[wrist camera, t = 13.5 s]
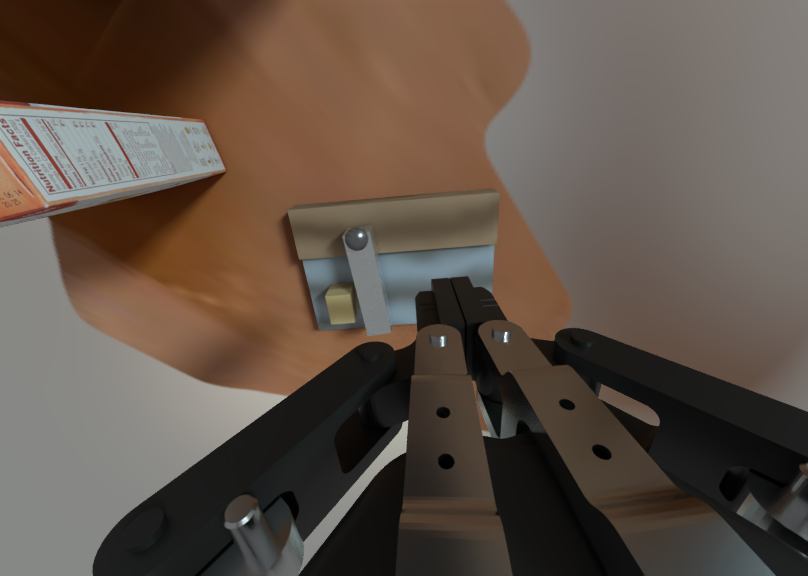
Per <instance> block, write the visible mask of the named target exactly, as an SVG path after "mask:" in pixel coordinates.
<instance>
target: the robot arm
mask: <svg viewBox="0 0 808 576" xmlns="http://www.w3.org/2000/svg"><path fill="white" fill-rule="evenodd" d="M415 306H416V320H417V336H416V340H415V341H414V342H413V343H412V344H411V345H409V346H407V347H405V348H403V349H400V350H396V351H394V349H393V348H392V347H391V346H390V345H388V344H386V343H383V342H368V343H364V344H361V345H359V346H357V347H356V348H354V349H353V350H351V351H350V352H349V353H347V354H346V355H344V356H343V357H342V358H340V359H339V360H338V361H336V362H335V363H333V364H332V365H331V366H329V367H328V368H327V369H325V370H324V371H322V372H321V373H320V374H318V375H317V376H316V377H314V378H313V379H311V380H310V381H309V382H307V383H306V384H305V385H303V386H302V387H300V388H299V389H298V390H296V391H295V392H294V393H292V394H291V395H289V396H288V397H287V398H285V399H284V400H283V401H281V402H280V403H279V404H277V405H276V406H274V407H273V408H272V409H270V410H269V411H267V412H266V413H265V414H263V415H262V416H261V417H259V418H258V419H256V420H255V421H254V422H252V423H251V424H250V425H248V426H247V427H245V428H244V429H243V430H241V431H240V432H239V433H237V434H236V435H234V436H233V437H232V438H230V439H229V440H228V441H226V442H225V443H223V444H222V445H221V446H219V447H218V448H217V449H215V450H214V451H212V452H211V453H210V454H209V455H207V456H206V457H204V458H203V459H202V460H200V461H199V462H197V463H196V464H195V465H193V466H192V467H190V468H189V469H188V470H186V471H185V472H184V473H182V474H181V475H180V476H178V477H177V478H176V479H174V480H173V481H171V482H170V483H169V484H167V485H166V486H164V487H163V488H162V489H160V490H159V491H158V492H157V493H155V494H153V495H152V496H151V497H149V498H148V499H147V500H145V501H144V502H142V503H141V504H140V505H138V506H137V507H136V508H134V509H133V510H132V511H130V512H129V513H128V514H127V515H126V516H125V517H124V518H122V519H121V520H120V521H119V522H118V524H116V526H115V527H114V528H113V529H112V530H111V531H110V533H109V534H108V535H107V537H106V538H105V539H104V541H103V542H102V544H101V546H100V548H99V550H98V552H97V554H96V557H95V559H94V563H93V576H297V575H298V574H299V571H300V568H301V566H302V561H303V556H304V545H303V542H304V541H305V539H306V538H307V537H308V536H309V535H310V534H311V533H312V531H313V530H314V529H315V528H316V527H317V526H318V525H319V523H320V522H321V521H322V520H323V519H324V518H325V517H326V515H327V514H328V513H329V512H330V511H331V510H332V508H333V507H334V506H335V505H336V504H337V503H338V502H339V500H340V499H341V498H342V497H343V496H344V495H345V493H346V492H347V491H348V490H349V489H350V488H351V486H352V485H353V484H354V483H355V482H356V481H357V480H358V479H359V477H360V476H361V475H362V474H363V473H364V472H365V470H366V469H367V468H368V467H369V466H370V465H371V463H372V462H373V461H374V460H375V459H376V458H377V457H378V455H379V454H380V453H381V452H382V451H383V450H384V448H385V447H386V446H387V445H388V444H389V443H390V442H391V441H392V439H393V438H394V437H395V436H396V435H397V434H398V432H399V431H400V429H401V427H402V423H403V422H404V421H407V420H408V435H407V451H406V453H404V454H402V455H400V456H398V457H397V458H395V459H394V460H392V461H391V462H390V463H388V464H387V465H386V466H385V467H384V468H383V469H382V470H381V471H380V472H379V473H378V474H377V475H376V476H375V477H374V478H373V480H372V481H371V482H370V483H369V485H368V486H367V487H366V489H365V490H364V491H363V492H362V494H361V495H360V496H359V498H358V499H357V500H356V501H355V503H354V504H353V506H352V507H351V508H350V509H349V511H348V512H347V513H346V514H345V516H344V517H343V519H342V520H341V521H340V522H339V523H338V525H337V526H336V527H335V529H334V530H333V531H332V533H331V534H330V535H329V536H328V538H327V539H326V540H325V542H324V543H323V544H322V545H321V547H320V548H319V549H318V551H317V552H316V553H315V554H314V556H313V557H312V558H311V560H310V561H309V562H308V564H307V565H306V566H305V567H304V569H303V570H302V571H301V573H300V574H299V575H298V576H808V412H806V411H804V410H801V409H798V408H796V407H793V406H791V405H788V404H785V403H783V402H780V401H777V400H774V399H772V398H769V397H767V396H763V395H761V394H758V393H755V392H753V391H750V390H748V389H745V388H742V387H740V386H737V385H734V384H732V383H729V382H726V381H724V380H721V379H718V378H716V377H713V376H710V375H707V374H705V373H702V372H699V371H697V370H694V369H691V368H689V367H686V366H683V365H681V364H678V363H675V362H673V361H670V360H667V359H664V358H662V357H659V356H657V355H654V354H651V353H648V352H646V351H643V350H640V349H637V348H635V347H632V346H630V345H627V344H624V343H622V342H619V341H616V340H614V339H611V338H608V337H606V336H603V335H600V334H598V333H595V332H592V331H589V330H585V329H579V328H567V329H563V330H560V331H559V332H557V333H556V335H555V340H554V341H548V340H539V339H533V338H530V337H529V336H528V335H527V334H526V332H525V331H524V330H523V329H522V328H521V327H520V326H519V325H517V324H515V323H513V322H509V321H507V319H506V317H505V316H504V314H503V312H502V310H501V309H500V307H499V306H498V304H497V302H496V300H495V299H494V297H493V295H492V293H491V292H490V291H488V290H487V289H485V288H483V287H473V285H472V283H471V281H470V279H469V277H468V276H463V277H450V279H449V278H438V279H431V291H419V293H418V294H417V296H416V297H415ZM473 381H475V382H476V385H477V391H476V398H477V402H478V404H479V407H480V409H481V412H482V414H483V417H484V419H485V422H486V425H487V427H488V430H489V432H490V435H491V437H487V436H482V430H481V424H480V419H479V414H478V408H477V403H476V398H475V392H474V387H473ZM601 384H603V385H605V386H607V387H610V388H612V389H614V390H616V391H618V392H620V393H622V394H624V395H626V396H628V397H630V398H633V399H635V400H637V401H639V402H641V403H643V404H645V405H647V406H649V407H650V408H651V409H653V410H654V411H655V412H656V414H657V415H658V417H659V419H660V425H659V426H653V425H649V424H647V423H645V422H643V421H641V420H639V419H638V418H636V417H634V416H632V415H630V414H628V413H626V412H624V411H622V410H620V409H618V408H616V407H614V406H612V405H610V404H608V403H606V402H605V401H603V400H601V399H599V398H598V396H599V392H600V388H601Z"/></svg>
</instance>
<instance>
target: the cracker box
mask: <svg viewBox="0 0 808 576" xmlns="http://www.w3.org/2000/svg"><path fill="white" fill-rule="evenodd" d="M226 171H227V170H226V168H225V166H224V164H223V161H222V159H221V157H220V155H219V153H218V150H217V148H216V146H215V144H214V142H213V139H212V137H211V135H210V133H209V131H208V129H207V126H206V124H205V122H204V120H202V119H189V118H179V117H168V116H157V115H146V114H136V113H126V112H115V111H104V110H94V109H83V108H73V107H63V106H53V105H43V104H32V103H23V102H11V101H1V100H0V227H4V226H8V225H12V224H18V223H22V222H26V221H31V220H35V219H40V218H44V217H49V216H53V215H58V214H62V213H66V212H71V211H75V210H80V209H84V208H88V207H92V206H97V205H101V204H105V203H110V202H114V201H118V200H123V199H127V198H131V197H136V196H140V195H144V194H148V193H152V192H156V191H160V190H164V189H168V188H171V187H175V186H179V185H183V184H186V183H190V182H193V181H197V180H200V179H204V178H207V177H211V176H214V175H217V174H220V173H224V172H226Z"/></svg>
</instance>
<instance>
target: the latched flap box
mask: <svg viewBox="0 0 808 576" xmlns="http://www.w3.org/2000/svg"><path fill="white" fill-rule="evenodd" d="M498 211H499V192H498V191H496V190H494V189H480V190H468V191H457V192H445V193H433V194H421V195H410V196H398V197H386V198H374V199H363V200H351V201H339V202H327V203H315V204H304V205H295V206H293V207H292V208H290V209H288V210H287V212H288V216H289V220H290V224H291V228H292V232H293V237H294V241H295V245H296V249H297V253H298V257H299V260H302V261H303V265H304V269H305V273H306V277H307V282H308V286H309V290H310V294H311V298H312V302H313V307H314V311H315V315H316V319H317V323H318V327H319V331H321V330H335V329H348V328H362V327H365V323H364V319H363V315H362V312H361V308H360V304H359V300H358V296H357V292H356V288H355V284H354V280H353V276H352V272H351V268H350V265H349V261H348V257H347V253H346V249H345V245H344V241H343V237H342V236H343V234H344V233H345V231H346V229H349V228H355V227H361V226H368V225H372V226H373V231H374V236H375V241H376V246H377V250H378V255H379V260H380V265H381V270H382V274H383V279H384V284H385V289H386V294H387V298H388V303H389V308H390V313H391V318H392V325H403V324H417V320H416V306H415V297H416V296H417V294H418V293H419V291H431V279H438V278H449V279H450V277H463V276H468V277H469V279H470V281H471V283H472V285H473V287H483V288H485V289H487V290H488V291H490V292H491V293H492V282H493V262H494V244H497V230H498Z"/></svg>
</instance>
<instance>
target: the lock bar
mask: <svg viewBox="0 0 808 576" xmlns="http://www.w3.org/2000/svg"><path fill="white" fill-rule="evenodd" d="M342 237H343V241H344V245H345V249H346V253H347V257H348V261H349V265H350V268H351V272H352V276H353V280H354V284H355V288H356V292H357V296H358V300H359V304H360V308H361V312H362V315H363V319H364V323H365V327H366V331H367V335H368V336H371V335H379V334H386V333H391V330H392V318H391V313H390V308H389V303H388V298H387V294H386V289H385V284H384V279H383V274H382V270H381V265H380V260H379V255H378V250H377V246H376V241H375V236H374V231H373V226H372V225H368V226H361V227H355V228H349V229H346V231H345V233H344V234H343V236H342Z"/></svg>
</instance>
